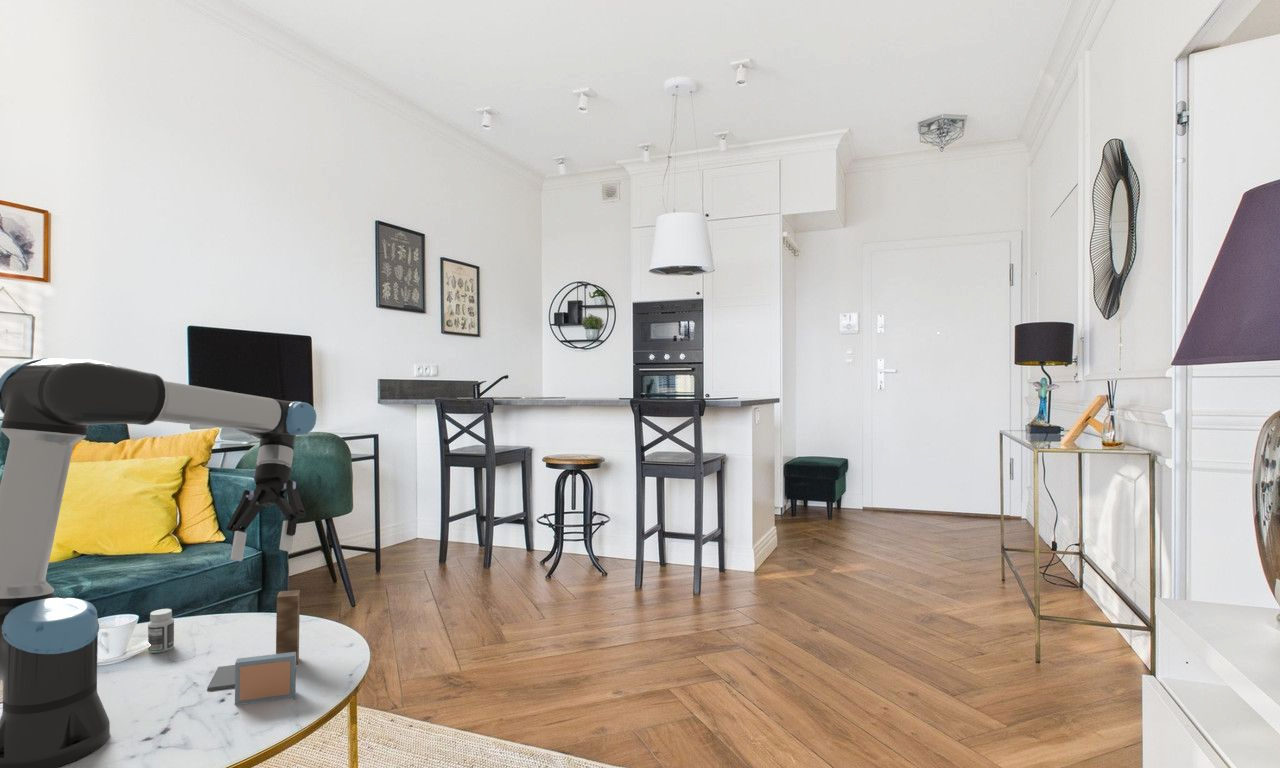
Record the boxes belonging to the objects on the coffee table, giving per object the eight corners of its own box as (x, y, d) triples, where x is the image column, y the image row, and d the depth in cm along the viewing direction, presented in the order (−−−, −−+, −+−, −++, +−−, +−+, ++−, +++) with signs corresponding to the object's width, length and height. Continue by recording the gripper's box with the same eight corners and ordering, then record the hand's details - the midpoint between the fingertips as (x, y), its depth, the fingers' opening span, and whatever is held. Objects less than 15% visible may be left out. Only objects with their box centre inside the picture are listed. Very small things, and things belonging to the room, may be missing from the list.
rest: (207, 690, 131) (207, 687, 131) (218, 669, 140) (218, 666, 140) (265, 683, 135) (265, 680, 135) (272, 663, 144) (272, 660, 144)
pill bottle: (169, 643, 153) (170, 606, 153) (176, 648, 150) (177, 611, 150) (144, 649, 149) (145, 611, 149) (151, 655, 146) (152, 616, 146)
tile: (234, 705, 125) (235, 663, 125) (236, 700, 127) (237, 658, 127) (294, 697, 129) (294, 656, 129) (295, 692, 131) (296, 651, 131)
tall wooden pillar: (275, 668, 141) (276, 597, 141) (278, 660, 145) (279, 591, 145) (296, 665, 143) (297, 595, 143) (298, 658, 147) (299, 589, 146)
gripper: (328, 461, 162) (318, 549, 152) (244, 481, 168) (230, 566, 158) (305, 451, 155) (293, 542, 146) (219, 472, 161) (202, 561, 152)
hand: (260, 555), depth 152 cm, fingers open, 13 cm apart
